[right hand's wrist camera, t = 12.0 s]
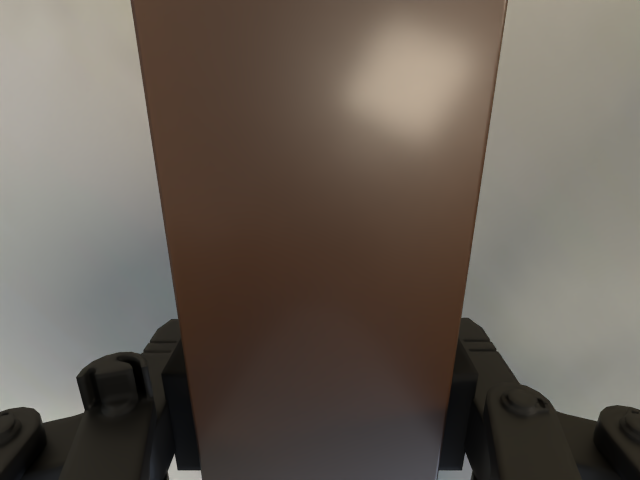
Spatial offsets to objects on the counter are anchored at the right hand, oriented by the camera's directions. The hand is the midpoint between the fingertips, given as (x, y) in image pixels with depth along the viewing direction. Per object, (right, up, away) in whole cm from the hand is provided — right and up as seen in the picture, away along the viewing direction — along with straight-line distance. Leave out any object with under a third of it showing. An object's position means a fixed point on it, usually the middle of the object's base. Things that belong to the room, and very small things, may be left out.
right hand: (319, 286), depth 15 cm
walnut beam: (0, +11, -4) cm, 12 cm away
